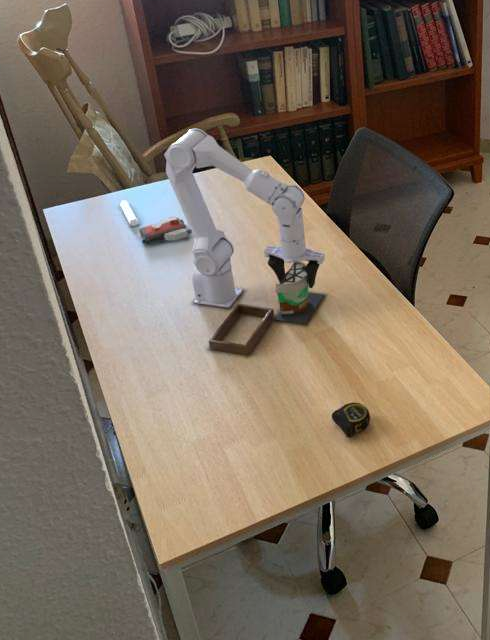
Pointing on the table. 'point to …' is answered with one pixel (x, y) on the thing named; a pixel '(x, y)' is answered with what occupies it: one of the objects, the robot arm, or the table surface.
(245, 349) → the walnut tray
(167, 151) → the robot arm
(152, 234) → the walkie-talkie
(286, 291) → the food container
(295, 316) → the rubber mat
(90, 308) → the table surface
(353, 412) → the tape measure
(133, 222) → the marker
